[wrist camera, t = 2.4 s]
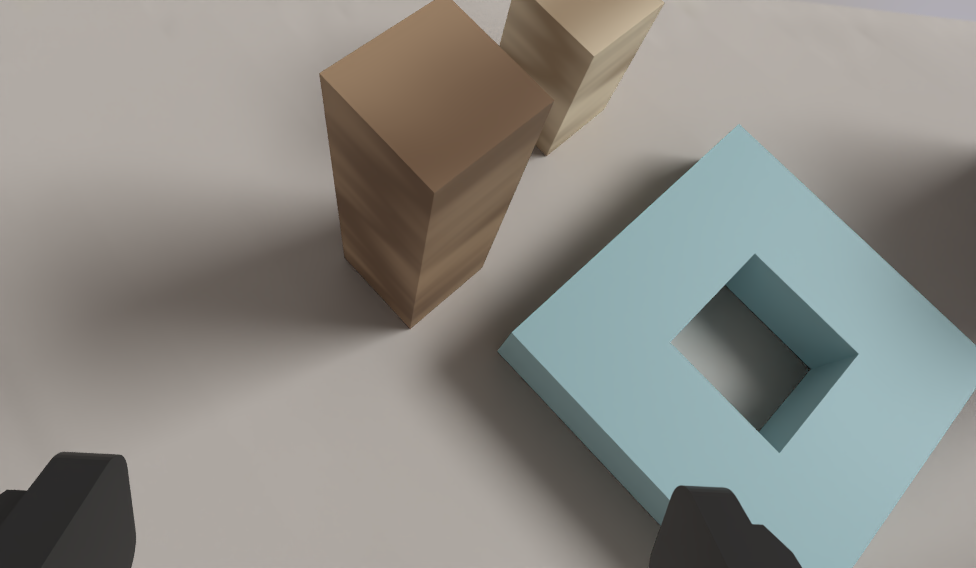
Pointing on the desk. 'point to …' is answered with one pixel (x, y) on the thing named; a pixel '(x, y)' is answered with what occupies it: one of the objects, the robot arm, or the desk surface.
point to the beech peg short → (575, 54)
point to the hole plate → (791, 316)
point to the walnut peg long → (427, 152)
